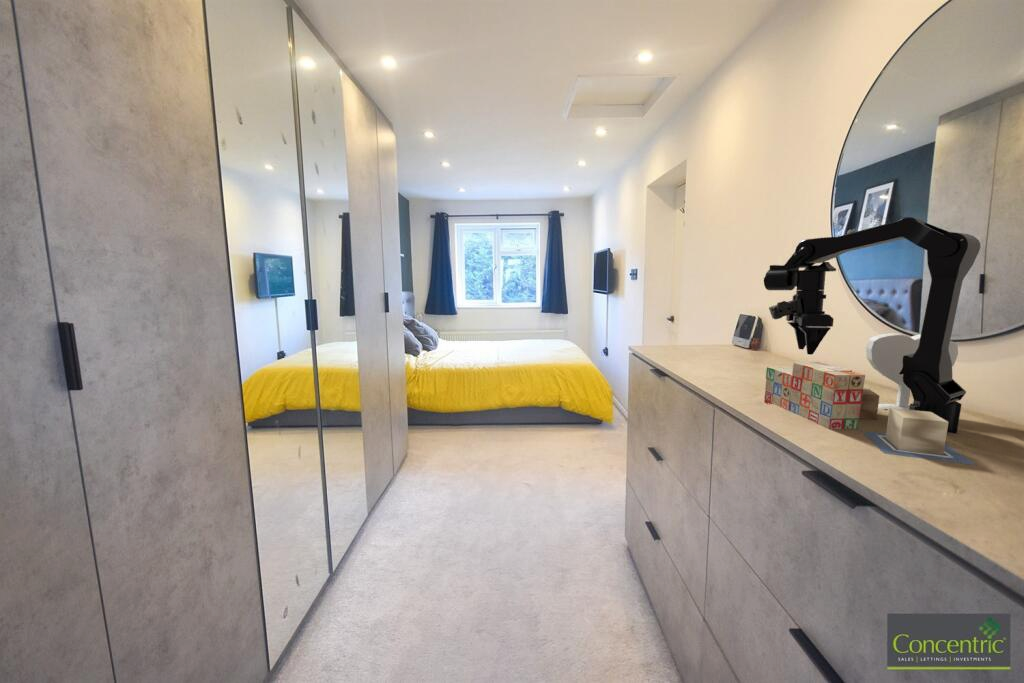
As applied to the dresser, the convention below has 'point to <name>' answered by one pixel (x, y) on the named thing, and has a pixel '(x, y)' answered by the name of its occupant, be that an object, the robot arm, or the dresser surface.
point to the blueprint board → (889, 448)
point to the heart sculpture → (896, 361)
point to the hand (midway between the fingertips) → (805, 351)
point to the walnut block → (869, 404)
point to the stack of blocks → (817, 393)
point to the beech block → (916, 431)
